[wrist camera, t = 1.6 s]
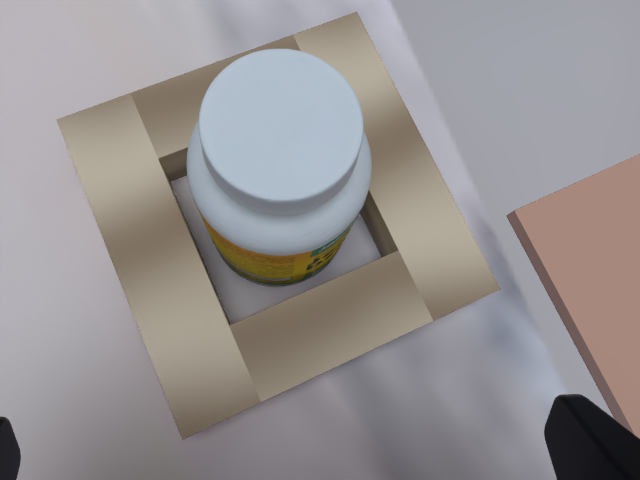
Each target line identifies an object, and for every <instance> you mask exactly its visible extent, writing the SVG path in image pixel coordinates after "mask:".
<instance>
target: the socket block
mask: <svg viewBox="0 0 640 480" xmlns="http://www.w3.org/2000/svg"><path fill="white" fill-rule="evenodd" d="M266 49H292V50H297V51H302V52H306V53H309V54H311V55H314V56H316V57H318V58H320V59H322V60H324V61H325V62H327V63H328V64H330V65H331V66H333V67H334V68H335V69H336V70H338V71H339V72H340V73H341V74H342V75H343V76H344V77H345V78H346V80H347V81H348V82H349V84H350V85H351V86H352V88H353V90H354V92H355V93H356V95H357V98H358V100H359V103H360V106H361V110H362V114H363V123H364V132H365V134H366V137H367V140H368V143H369V147H370V152H371V160H372V174H371V182H370V186H369V190H368V194H367V197H366V200H365V203H364V205H363V207H362V209H361V211H360V213H361V215H362V217H363V219H364V221H365V223H366V225H367V227H368V229H369V231H370V233H371V235H372V237H373V240H374V242H375V244H376V246H377V248H378V250H379V252H380V254H381V256H382V258H380V259H378V260H375V261H373V262H371V263H369V264H366V265H364V266H362V267H360V268H357V269H355V270H353V271H351V272H348V273H346V274H344V275H342V276H339V277H337V278H335V279H333V280H330V281H328V282H326V283H324V284H321V285H319V286H317V287H315V288H312V289H310V290H308V291H306V292H303V293H301V294H299V295H297V296H294V297H292V298H290V299H288V300H285V301H283V302H281V303H279V304H276V305H274V306H272V307H270V308H267V309H265V310H263V311H261V312H258V313H256V314H254V315H252V316H249V317H247V318H245V319H243V320H240V321H238V322H236V323H234V324H231V325H230V322H229V320H228V318H227V315H226V313H225V311H224V308H223V306H222V303H221V301H220V299H219V296H218V294H217V292H216V289H215V287H214V285H213V282H212V280H211V278H210V275H209V273H208V270H207V268H206V266H205V263H204V261H203V259H202V256H201V254H200V252H199V249H198V247H197V245H196V242H195V240H194V237H193V235H192V233H191V230H190V228H189V226H188V223H187V221H186V219H185V216H184V214H183V212H182V209H181V207H180V204H179V202H178V200H177V197H176V195H175V193H174V190H173V188H172V186H171V183H170V181H172V180H174V179H177V178H179V177H182V176H185V175H187V151H188V145H189V142H190V138H191V135H192V132H193V130H194V127H195V125H196V123H197V121H198V120H199V112H200V108H201V103H202V101H203V98H204V96H205V94H206V91H207V90H208V88H209V86H210V84H211V83H212V81H213V80H214V79H215V78H216V77H217V75H218V74H219V73H220V72H221V71H222V70H223V69H225V68H226V67H227V66H228V65H230V64H231V63H232V62H234V61H235V60H237V59H239V58H241V57H243V56H246V55H248V54H250V53H253V52H257V51H261V50H266ZM57 123H58V125H59V128H60V130H61V133H62V135H63V138H64V140H65V143H66V145H67V148H68V150H69V153H70V156H71V158H72V161H73V163H74V166H75V168H76V171H77V173H78V176H79V178H80V181H81V183H82V186H83V189H84V191H85V194H86V196H87V199H88V201H89V204H90V206H91V209H92V211H93V214H94V216H95V219H96V222H97V224H98V227H99V229H100V232H101V234H102V237H103V239H104V242H105V244H106V247H107V249H108V252H109V255H110V257H111V260H112V262H113V265H114V267H115V270H116V272H117V275H118V277H119V280H120V282H121V285H122V288H123V290H124V293H125V295H126V298H127V300H128V303H129V305H130V308H131V310H132V313H133V315H134V318H135V321H136V323H137V326H138V328H139V331H140V333H141V336H142V338H143V341H144V343H145V346H146V348H147V351H148V353H149V356H150V359H151V361H152V364H153V366H154V369H155V371H156V374H157V376H158V379H159V381H160V384H161V386H162V389H163V392H164V394H165V397H166V399H167V402H168V404H169V407H170V409H171V412H172V414H173V417H174V419H175V422H176V425H177V427H178V430H179V432H180V435H181V437H182V440H183V439H185V438H187V437H189V436H191V435H193V434H195V433H197V432H200V431H202V430H204V429H206V428H208V427H210V426H212V425H214V424H216V423H219V422H221V421H223V420H225V419H227V418H229V417H231V416H233V415H235V414H238V413H240V412H242V411H244V410H246V409H248V408H250V407H252V406H254V405H257V404H259V403H261V402H263V401H265V400H267V399H269V398H271V397H273V396H276V395H278V394H280V393H282V392H284V391H286V390H288V389H290V388H292V387H295V386H297V385H299V384H301V383H303V382H305V381H307V380H309V379H311V378H314V377H316V376H318V375H320V374H322V373H324V372H326V371H328V370H331V369H333V368H335V367H337V366H339V365H341V364H343V363H345V362H347V361H350V360H352V359H354V358H356V357H358V356H360V355H362V354H364V353H366V352H369V351H371V350H373V349H375V348H377V347H379V346H381V345H383V344H385V343H388V342H390V341H392V340H394V339H396V338H398V337H400V336H402V335H404V334H407V333H409V332H411V331H413V330H415V329H417V328H419V327H421V326H423V325H426V324H428V323H430V322H432V321H434V320H436V319H438V318H440V317H442V316H445V315H447V314H449V313H451V312H453V311H455V310H457V309H459V308H461V307H464V306H466V305H468V304H470V303H472V302H474V301H476V300H478V299H480V298H483V297H485V296H487V295H489V294H491V293H493V292H495V291H497V290H499V289H500V287H499V285H498V283H497V281H496V279H495V277H494V275H493V273H492V272H491V270H490V268H489V266H488V264H487V262H486V260H485V258H484V256H483V254H482V252H481V250H480V248H479V246H478V245H477V243H476V241H475V239H474V237H473V235H472V233H471V231H470V229H469V227H468V225H467V223H466V221H465V219H464V218H463V216H462V214H461V212H460V210H459V208H458V206H457V204H456V202H455V200H454V198H453V196H452V194H451V192H450V191H449V189H448V187H447V185H446V183H445V181H444V179H443V177H442V175H441V173H440V171H439V169H438V167H437V165H436V164H435V162H434V160H433V158H432V156H431V154H430V152H429V150H428V148H427V146H426V144H425V142H424V140H423V138H422V137H421V135H420V133H419V131H418V129H417V127H416V125H415V123H414V121H413V119H412V117H411V115H410V113H409V111H408V110H407V108H406V106H405V104H404V102H403V100H402V98H401V96H400V94H399V92H398V90H397V88H396V86H395V84H394V82H393V81H392V79H391V77H390V75H389V73H388V71H387V69H386V67H385V65H384V63H383V61H382V59H381V57H380V55H379V54H378V52H377V50H376V48H375V46H374V44H373V42H372V40H371V38H370V36H369V34H368V32H367V30H366V28H365V27H364V25H363V23H362V21H361V19H360V17H359V15H358V13H357V12H355V13H352V14H349V15H346V16H344V17H341V18H338V19H335V20H332V21H330V22H327V23H324V24H321V25H319V26H316V27H313V28H310V29H307V30H305V31H302V32H299V33H296V34H293V35H291V36H288V37H285V38H282V39H280V40H277V41H274V42H271V43H268V44H266V45H263V46H260V47H257V48H255V49H252V50H249V51H246V52H243V53H241V54H238V55H235V56H232V57H230V58H227V59H224V60H221V61H218V62H216V63H213V64H210V65H207V66H205V67H202V68H199V69H196V70H193V71H191V72H188V73H185V74H182V75H179V76H177V77H174V78H171V79H168V80H166V81H163V82H160V83H157V84H154V85H152V86H149V87H146V88H143V89H141V90H138V91H135V92H132V93H129V94H127V95H124V96H121V97H118V98H116V99H113V100H110V101H107V102H104V103H102V104H99V105H96V106H93V107H90V108H88V109H85V110H82V111H79V112H77V113H74V114H71V115H68V116H65V117H63V118H60V119H57Z"/></svg>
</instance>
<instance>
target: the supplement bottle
mask: <svg viewBox="0 0 640 480" xmlns="http://www.w3.org/2000/svg"><path fill="white" fill-rule="evenodd" d="M371 174H372V160H371V152H370V147H369V143H368V140H367V137H366V134H365V132H364V123H363V114H362V110H361V106H360V103H359V100H358V98H357V95H356V93H355V92H354V90H353V88H352V86H351V85H350V84H349V82H348V81H347V80H346V78H345V77H344V76H343V75H342V74H341V73H340V72H339V71H338V70H336V69H335V68H334V67H333V66H331V65H330V64H328V63H327V62H325V61H324V60H322V59H320V58H318V57H316V56H314V55H311V54H309V53H306V52H302V51H297V50H292V49H266V50H261V51H257V52H253V53H250V54H248V55H246V56H243V57H241V58H239V59H237V60H235V61H234V62H232V63H231V64H230V65H228V66H227V67H226V68H225V69H223V70H222V71H221V72H220V73H219V74H218V75H217V77H216V78H215V79H214V80H213V81H212V83H211V84H210V86H209V88H208V90H207V91H206V94H205V96H204V98H203V101H202V103H201V108H200V112H199V120H198V121H197V123H196V125H195V127H194V130H193V132H192V135H191V138H190V142H189V145H188V151H187V176H188V182H189V187H190V190H191V194H192V196H193V199H194V201H195V204H196V206H197V208H198V210H199V212H200V214H201V216H202V218H203V221H204V223H205V225H206V227H207V229H208V232H209V234H210V236H211V238H212V240H213V243H214V244H215V246H216V248H217V250H218V252H219V254H220V255H221V257H222V258H223V260H224V261H225V262H226V263H227V264H228V266H229V267H230V268H232V269H233V270H234V271H235V272H236V273H238V274H239V275H241V276H242V277H244V278H246V279H248V280H251V281H253V282H256V283H259V284H262V285H268V286H285V285H290V284H295V283H298V282H301V281H304V280H306V279H308V278H310V277H312V276H314V275H316V274H317V273H319V272H320V271H321V270H323V269H324V268H325V267H326V266H327V265H328V264H329V263H330V261H331V260H332V259H333V257H334V256H335V254H336V253H337V251H338V250H339V248H340V246H341V244H342V242H343V240H344V239H345V237H346V235H347V234H348V232H349V230H350V228H351V227H352V225H353V223H354V221H355V219H356V218H357V216H358V214H359V212H360V211H361V209H362V207H363V205H364V203H365V200H366V197H367V194H368V190H369V186H370V182H371Z"/></svg>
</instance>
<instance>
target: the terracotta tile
mask: <svg viewBox="0 0 640 480" xmlns="http://www.w3.org/2000/svg"><path fill="white" fill-rule="evenodd" d="M507 218H508V220H509V222H510V223H511V225H512V227H513V229H514V230H515V233H516V235H517V237H518V238H519V240H520V242H521V244H522V246H523V248H524V250H525V252H526V254H527V255H528V257H529V259H530V261H531V263H532V265H533V267H534V269H535V270H536V272H537V274H538V276H539V278H540V280H541V282H542V284H543V285H544V287H545V289H546V291H547V293H548V295H549V297H550V299H551V300H552V302H553V304H554V306H555V308H556V310H557V312H558V314H559V315H560V317H561V319H562V321H563V323H564V325H565V327H566V329H567V330H568V332H569V334H570V336H571V338H572V340H573V342H574V344H575V345H576V347H577V349H578V351H579V353H580V355H581V357H582V359H583V360H584V362H585V364H586V366H587V368H588V370H589V372H590V373H591V375H592V377H593V379H594V381H595V383H596V385H597V386H598V389H599V390H600V392H601V394H602V396H603V398H604V400H605V402H606V404H607V405H608V407H609V409H610V411H611V413H612V415H613V417H614V419H615V420H616V421H617V422H619V423H620V424H621V425H623V426H624V427H625V428H627V429H628V430H629V431H630V432H632V433H633V434H634V435H636V436H637V437H638V438H640V154H639V155H637V156H635V157H633V158H630V159H628V160H626V161H624V162H621V163H619V164H617V165H615V166H612V167H610V168H608V169H606V170H604V171H601V172H599V173H597V174H594V175H592V176H590V177H588V178H586V179H583V180H581V181H579V182H577V183H574V184H572V185H570V186H568V187H565V188H563V189H561V190H559V191H557V192H554V193H552V194H550V195H548V196H545V197H543V198H541V199H539V200H537V201H534V202H532V203H530V204H528V205H525V206H523V207H521V208H519V209H516V210H514V211H513V212H511V213H510V214H508V215H507Z"/></svg>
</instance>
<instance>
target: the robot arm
mask: <svg viewBox="0 0 640 480" xmlns="http://www.w3.org/2000/svg"><path fill="white" fill-rule="evenodd" d="M544 435H545V441H546V444H547V448H548V451H549V454H550V457H551V461H552V464H553V467H554V471H555V474H556V477H557V480H640V438H638V437H637V436H636V435H634V434H633V433H632V432H630V431H629V430H628V429H627V428H625V427H624V426H623V425H621V424H620V423H619V422H617V421H616V420H615V419H613V418H612V417H611V416H610V415H608V414H607V413H606V412H604V411H603V410H602V409H600V408H599V407H598V406H597V405H595V404H594V403H593V402H591V401H590V400H589V399H587V398H586V397H584V396H583V395H579V394H568V395H558V396H557V397H556V398H555V400H554V402H553V405H552V408H551V411H550V413H549V416H548V419H547V422H546V425H545V430H544ZM20 460H21V454H20V448H19V445H18V443H17V440H16V437H15V434H14V432H13V429H12V426H11V423H10V421H9V420H8V419H7V418H6V417H0V480H16V479H17V475H18V471H19V467H20Z"/></svg>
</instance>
